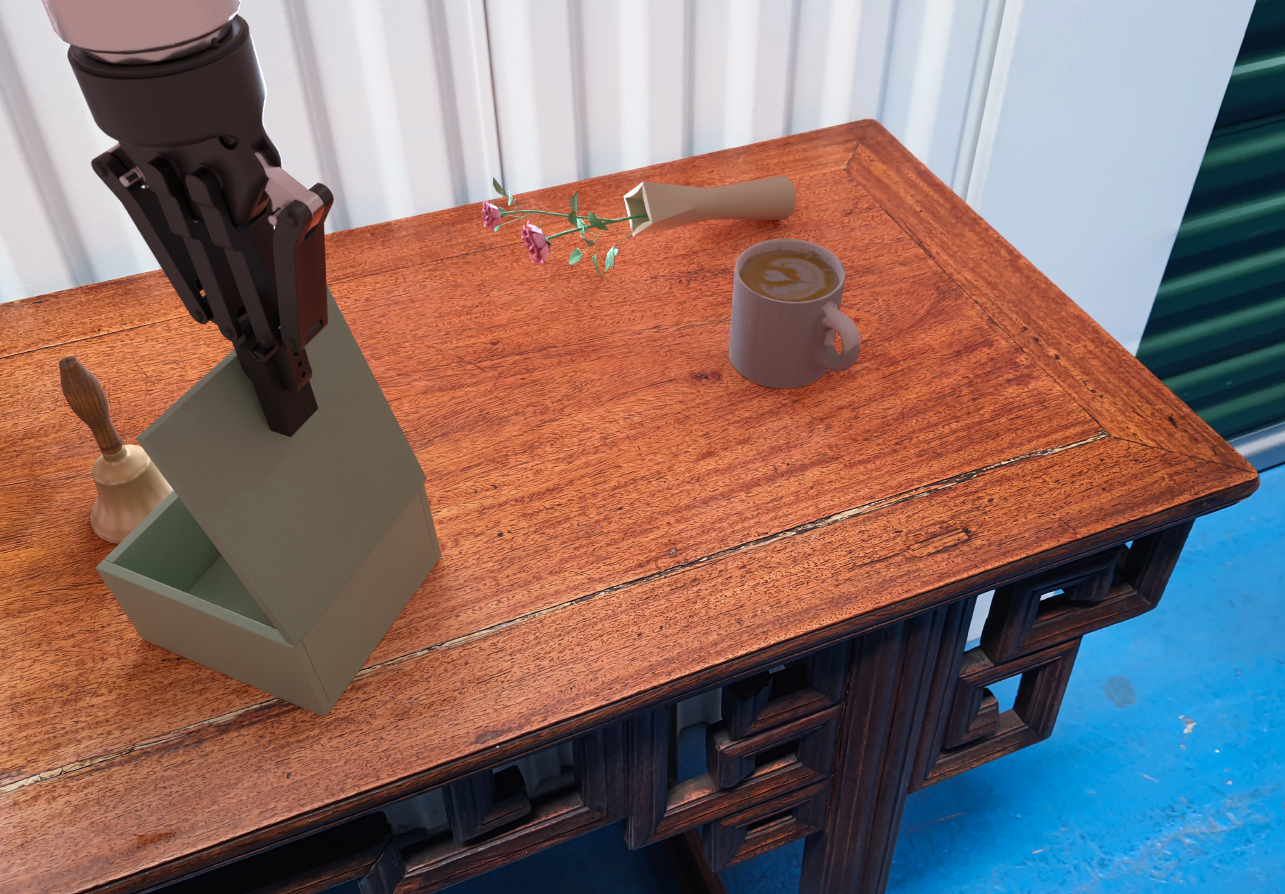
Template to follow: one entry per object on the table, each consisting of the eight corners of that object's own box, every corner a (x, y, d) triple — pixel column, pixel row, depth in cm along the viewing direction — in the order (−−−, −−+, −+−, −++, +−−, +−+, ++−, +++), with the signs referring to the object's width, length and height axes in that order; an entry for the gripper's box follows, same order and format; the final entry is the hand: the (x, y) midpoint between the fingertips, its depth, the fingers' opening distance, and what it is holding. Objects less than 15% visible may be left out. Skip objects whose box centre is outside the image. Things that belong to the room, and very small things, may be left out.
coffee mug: (708, 342, 98) (713, 258, 91) (790, 311, 101) (801, 227, 94) (789, 424, 90) (801, 339, 83) (875, 387, 93) (894, 301, 86)
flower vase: (774, 289, 116) (497, 326, 99) (728, 212, 121) (457, 236, 104) (821, 217, 107) (524, 245, 90) (769, 137, 112) (479, 150, 95)
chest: (141, 639, 74) (94, 567, 68) (273, 495, 84) (243, 421, 78) (325, 718, 70) (293, 648, 63) (442, 556, 80) (424, 482, 73)
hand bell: (144, 459, 87) (68, 315, 76) (216, 489, 85) (149, 345, 73) (69, 524, 82) (-26, 380, 71) (143, 559, 79) (58, 415, 68)
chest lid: (134, 438, 52) (144, 439, 52) (313, 276, 62) (323, 276, 62) (287, 643, 63) (296, 646, 63) (419, 477, 73) (427, 478, 73)
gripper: (332, 17, 43) (421, 409, 60) (103, -27, 47) (247, 354, 64) (218, 91, 39) (349, 494, 55) (-28, 35, 42) (166, 430, 59)
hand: (294, 419), depth 60 cm, fingers closed
